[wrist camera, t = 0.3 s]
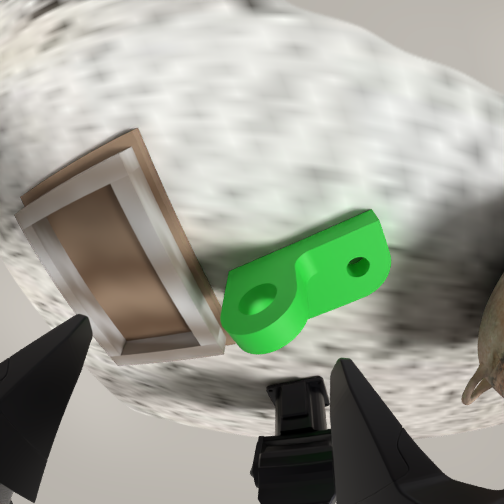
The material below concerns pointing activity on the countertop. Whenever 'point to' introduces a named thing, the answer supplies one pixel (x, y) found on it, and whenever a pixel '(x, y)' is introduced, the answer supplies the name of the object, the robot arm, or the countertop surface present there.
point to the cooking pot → (489, 348)
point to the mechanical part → (303, 283)
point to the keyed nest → (124, 256)
